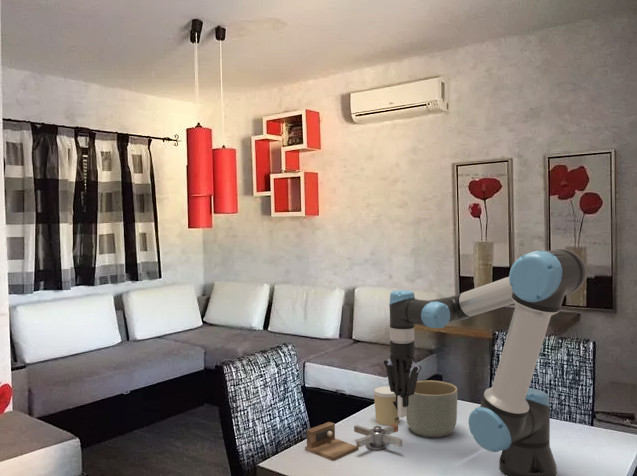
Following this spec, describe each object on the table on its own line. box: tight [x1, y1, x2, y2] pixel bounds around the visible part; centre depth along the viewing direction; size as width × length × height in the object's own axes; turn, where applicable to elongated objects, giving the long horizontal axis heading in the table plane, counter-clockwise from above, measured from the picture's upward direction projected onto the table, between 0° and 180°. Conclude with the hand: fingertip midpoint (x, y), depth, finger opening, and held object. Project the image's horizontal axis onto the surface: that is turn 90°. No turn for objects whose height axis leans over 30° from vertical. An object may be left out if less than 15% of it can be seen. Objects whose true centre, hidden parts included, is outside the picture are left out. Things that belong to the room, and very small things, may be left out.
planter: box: [405, 379, 458, 438], centre depth 194 cm, size 17×17×15 cm
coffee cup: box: [373, 385, 400, 426], centre depth 203 cm, size 9×9×12 cm
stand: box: [304, 421, 360, 462], centre depth 180 cm, size 20×21×7 cm
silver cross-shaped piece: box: [353, 424, 403, 451], centre depth 181 cm, size 18×18×6 cm
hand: (402, 416), depth 182 cm, fingers closed
